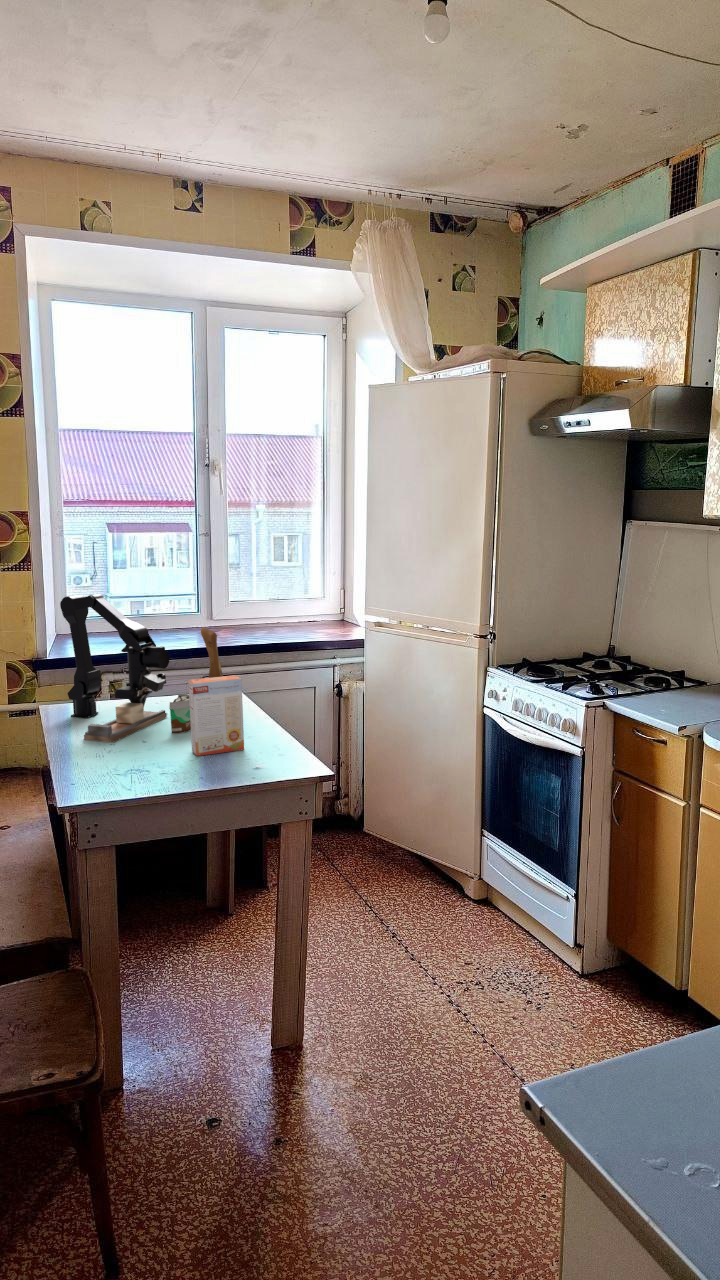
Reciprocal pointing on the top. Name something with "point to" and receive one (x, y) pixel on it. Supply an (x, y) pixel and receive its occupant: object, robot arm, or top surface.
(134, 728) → the slider track
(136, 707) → the slider block
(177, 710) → the food container
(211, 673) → the tan tall curved piece
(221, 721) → the cracker box
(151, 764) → the top surface
